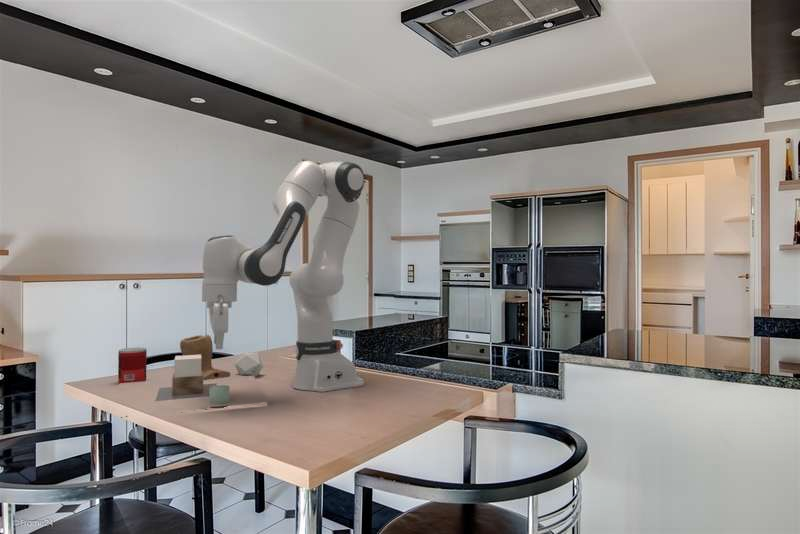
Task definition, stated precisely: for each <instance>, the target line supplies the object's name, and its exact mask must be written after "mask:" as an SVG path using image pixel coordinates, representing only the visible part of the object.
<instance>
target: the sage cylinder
mask: <svg viewBox="0 0 800 534" xmlns="http://www.w3.org/2000/svg"><path fill="white" fill-rule="evenodd" d="M229 402H230V386H229V385H225V384H223V385H222V384H220V385H218V384H217V386H212V387H210V396H209V404H213V405H221V404H226V403H229ZM227 406H228V407H229V406H230V405H228V404H227V405H221V406H209V408H210V409H225V408H227ZM224 407H225V408H224Z"/></svg>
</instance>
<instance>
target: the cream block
mask: <svg viewBox="0 0 800 534" xmlns="http://www.w3.org/2000/svg"><path fill="white" fill-rule="evenodd" d="M173 374H174V378H177V377H190V376H201V355H185V356H183V355H175V357H174V372H173Z"/></svg>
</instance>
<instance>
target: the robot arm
mask: <svg viewBox="0 0 800 534" xmlns="http://www.w3.org/2000/svg"><path fill="white" fill-rule="evenodd" d="M364 185H365V174H364V171H363V169H362V167H361V166H360V165H359V164H356V163H354V162H352V161H351V162H350V161H330V162H324V163H317V162H315V161H312V160H302V161H300V162H298V164H296V166H295V167H294V168H293V169H291V171H290V172H289V173H288V175H287V176H286V177H285V179H283V181H282V183H281V184H280V186H279V187H278V189H277V191H276V193H275V195H274V198H273V201H272V205H273V208H274V211H275V212H276V214H277V215H278V220H277V222H276V224H275V226H274V227H273V230H272V231H271V233H270V235H269V236H268V238H267V240H266V242H265V243H264V244H262V245H261V246H260V247H258V248H254V247H251V246H249V245H246V244H245V243H243V242H241V241H240V240H239V239H238V238H236V236H234V235H232V234H231V235H228V234H227V235H221V236H220V235H219V236H214V237H210V238H209V239H207V240H206V242H205V245H204V250H203V256H202V257H203V258H202V271H203V280H202V286H201V290H202V291H201V302H202V303H203V302H204V303H206V308H207V309H208V311H209V312H208V313H209V321H210V322H209V323H210V326H211V329H212V334H213V337H214V338H213V344H214V345H215V350H222V349H224V339H225V334H226V333H228V331H229V309H230V308H232V307H233V303H234V302H237V301H238V282H240V281H241V282H243V283H247V284H256V285H260V286H263V287H264V286H265V287H266V286H272V285H273V284H276V283H277V282H278V281H279V280H281V278H282V277H283V275H284V272H285V269H286V261H287V257H288V254H289V252H290V249H291V248H292V246H293V244H294V242H295V240H296V238H297V236H298V234H299V232H300V230H301V228H302V226H303V224H304V222H305V219H306V217H307V216H308V214H309V212H310V211H311V210H312V208H313V206H314V204H315V203H316V200H317V199H318V197H325V198H327V205H326V206H327V207H326V209H325V211H324V213H323V215H322V218H321V219H320V222H319V224H318V225H317V228H316V231H315V234H314V236H313V239H312V244H313V246H312V247H313V248H312V253H311V254H312V255H311V259H310V261H309V262H307V263H306V262H305V263H302V264H300V265H298V266H297V267H295V268H294V269H293V270H292V271H291V273H290V275H289V285H290V287H291V288H292V293H293V298H294V303H295V304H294V305H295V309H296V316H297V318H296V319H297V341H296V342H295V358H296V359H295V360H296V366H295V374H294V377H293V378H294V379H293V381H292V384H291V386H292V388H294V389H297V390H301V391H312V392H321V393H322V392H330V391H336V390H342V389H349V388H357V387H362V386H364V384H365V381H364V379H363V378H362V377H360V376H358V374H357V369H356V366H355V364H354V362H352V361H351V360H350V359H349V358H347V357H346V356H345V355H344V354H342V353H341V352H339V351H340V350H341V349H343V347H344V344H343V343H342V342H339V341H338V342H337V341H336V340H334V338H333V337H334V331H333V330H334V329H333V327H334V325H333V324H334V323H333V322H334V320H333V319H334V317H333V313H332V312H331V310H330V306H329V301H328V298H330V297H333V296H334V295H337V294H338V293H339V292H341V290H342V288H343V287H344V280H345V279H344V275H343V267H344V259H345V255H346V251H347V248H348V246H349V244H350V241H351V238H352V236H353V233H354V231H355V227H356V224H357V220H358V217H359V212H360V202H359V201H358V199H359V198H360V197H361V194H362V191H363V189H364Z"/></svg>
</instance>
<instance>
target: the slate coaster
mask: <svg viewBox="0 0 800 534" xmlns="http://www.w3.org/2000/svg"><path fill="white" fill-rule="evenodd" d="M212 386H218V384H217V382H216V383H203V393H201V394H190V395H179V396H172V386H170V387H169V386H167V387H159V388H158V389H159V390H158V391H157V394H156V396H155V400H154V401H155V402H162V401H171V400H182V399H183V400H185V399H194V398H203V397H204V398H205V397H210V387H212Z"/></svg>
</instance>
